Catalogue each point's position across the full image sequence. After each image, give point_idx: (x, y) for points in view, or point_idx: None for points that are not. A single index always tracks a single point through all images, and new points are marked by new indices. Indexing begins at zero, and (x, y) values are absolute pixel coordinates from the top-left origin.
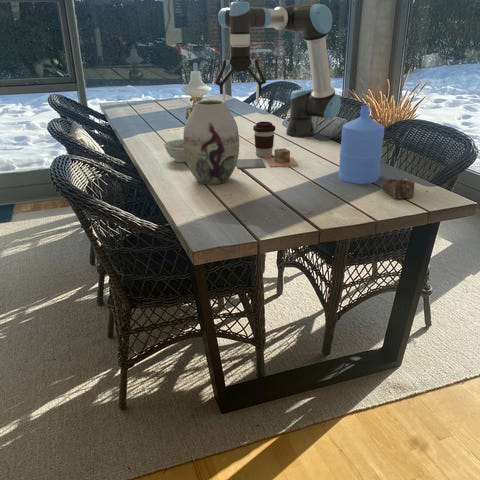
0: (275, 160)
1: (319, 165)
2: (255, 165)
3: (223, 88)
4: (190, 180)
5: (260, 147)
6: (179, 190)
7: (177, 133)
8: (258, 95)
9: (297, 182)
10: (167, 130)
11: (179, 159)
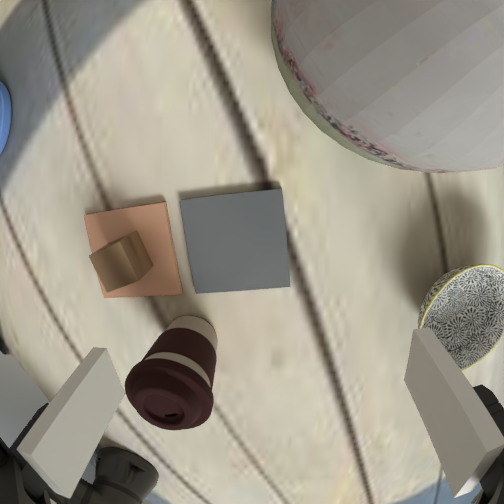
0: (148, 258)
1: (41, 229)
2: (215, 210)
3: (489, 428)
4: None
5: (195, 333)
6: None
7: (404, 481)
8: (66, 383)
9: (97, 64)
10: (416, 489)
11: (463, 273)
